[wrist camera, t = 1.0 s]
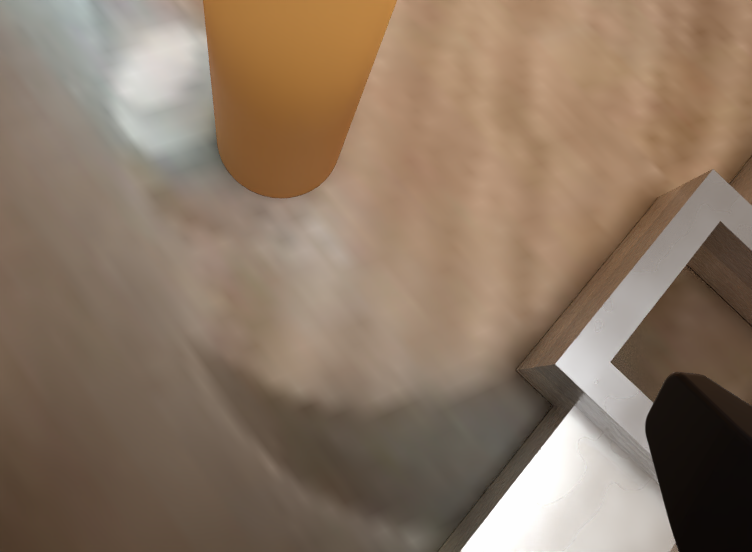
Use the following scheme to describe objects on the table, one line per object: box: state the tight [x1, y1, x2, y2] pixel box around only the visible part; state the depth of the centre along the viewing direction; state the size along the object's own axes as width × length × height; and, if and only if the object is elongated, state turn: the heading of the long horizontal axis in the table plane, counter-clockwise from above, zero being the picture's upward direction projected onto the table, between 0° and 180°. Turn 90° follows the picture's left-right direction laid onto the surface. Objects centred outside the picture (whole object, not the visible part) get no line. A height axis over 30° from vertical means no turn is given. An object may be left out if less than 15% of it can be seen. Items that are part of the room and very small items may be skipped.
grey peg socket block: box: [438, 157, 752, 552], centre depth 23 cm, size 24×8×3 cm, turn 138°
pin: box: [203, 0, 397, 198], centre depth 17 cm, size 4×4×13 cm
